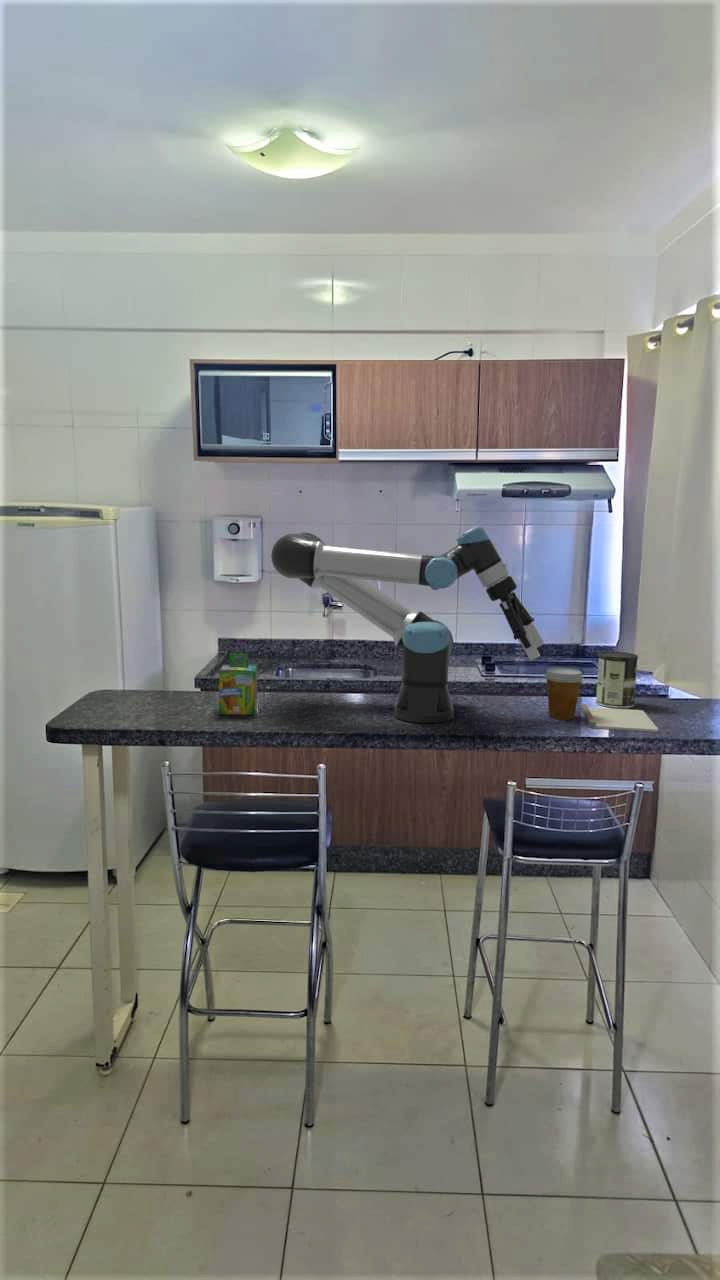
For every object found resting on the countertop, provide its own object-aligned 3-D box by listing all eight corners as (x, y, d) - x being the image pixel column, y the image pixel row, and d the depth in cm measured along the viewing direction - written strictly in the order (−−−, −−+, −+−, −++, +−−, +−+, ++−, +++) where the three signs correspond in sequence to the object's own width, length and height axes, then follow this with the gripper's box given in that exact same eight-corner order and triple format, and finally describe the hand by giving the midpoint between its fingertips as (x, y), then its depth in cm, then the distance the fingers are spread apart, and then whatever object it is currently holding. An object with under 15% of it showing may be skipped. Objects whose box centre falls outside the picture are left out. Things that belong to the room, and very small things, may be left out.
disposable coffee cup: (574, 712, 211) (577, 668, 209) (585, 721, 201) (588, 675, 199) (538, 711, 211) (541, 667, 209) (547, 721, 201) (550, 674, 199)
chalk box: (218, 715, 200) (218, 657, 197) (222, 707, 209) (221, 651, 206) (255, 715, 200) (255, 657, 198) (257, 707, 209) (257, 651, 207)
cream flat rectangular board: (590, 728, 195) (590, 722, 195) (580, 708, 215) (581, 703, 215) (658, 732, 193) (659, 726, 193) (642, 712, 212) (643, 706, 212)
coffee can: (626, 700, 226) (630, 651, 224) (639, 709, 216) (643, 658, 214) (590, 699, 226) (593, 650, 224) (601, 708, 216) (605, 657, 214)
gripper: (503, 582, 195) (546, 656, 196) (515, 568, 219) (553, 634, 219) (477, 596, 198) (520, 670, 199) (491, 581, 221) (529, 647, 222)
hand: (537, 651), depth 209 cm, fingers open, 13 cm apart
